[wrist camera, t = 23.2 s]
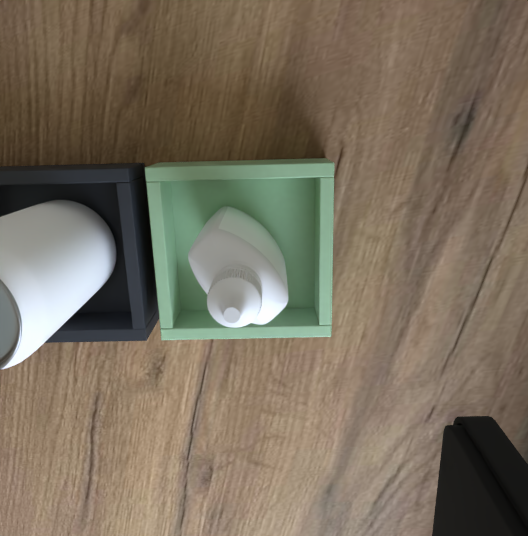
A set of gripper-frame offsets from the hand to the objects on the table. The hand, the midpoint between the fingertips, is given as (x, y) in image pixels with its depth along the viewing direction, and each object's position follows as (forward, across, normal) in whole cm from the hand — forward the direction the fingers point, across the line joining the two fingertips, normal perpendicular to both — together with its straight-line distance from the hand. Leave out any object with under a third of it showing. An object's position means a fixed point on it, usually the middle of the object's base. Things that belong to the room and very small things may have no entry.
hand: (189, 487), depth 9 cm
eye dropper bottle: (+23, 0, +2) cm, 23 cm away
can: (+23, +12, +2) cm, 26 cm away
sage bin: (+23, 0, +2) cm, 23 cm away
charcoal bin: (+23, +12, +2) cm, 26 cm away
